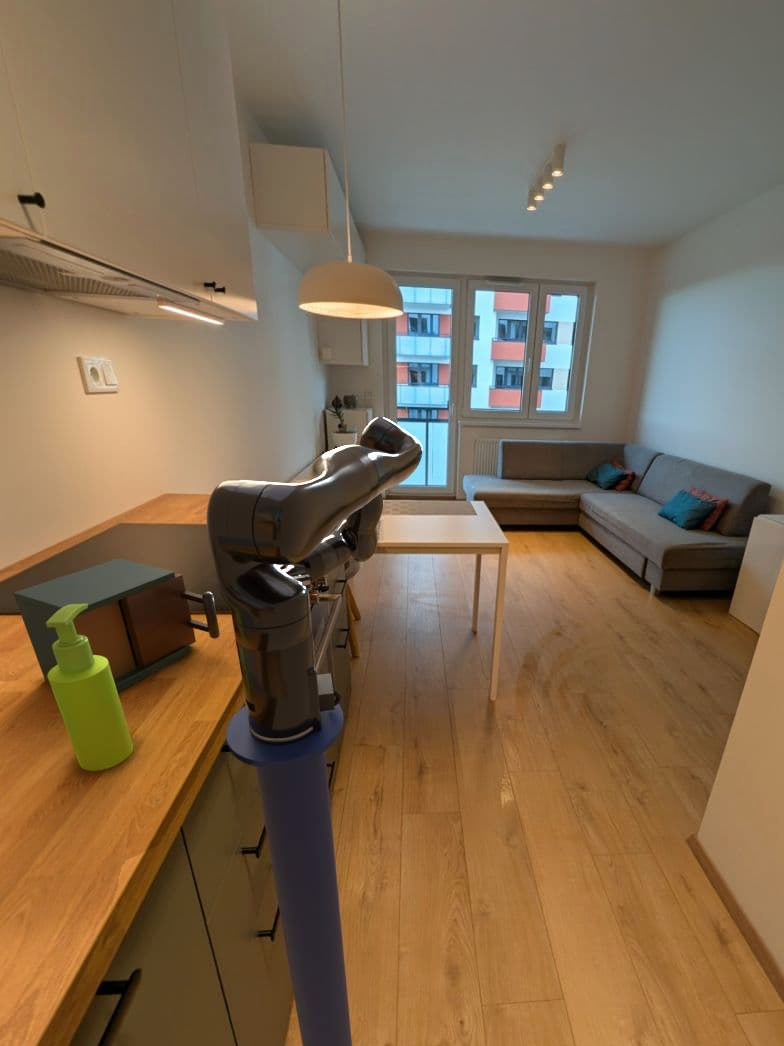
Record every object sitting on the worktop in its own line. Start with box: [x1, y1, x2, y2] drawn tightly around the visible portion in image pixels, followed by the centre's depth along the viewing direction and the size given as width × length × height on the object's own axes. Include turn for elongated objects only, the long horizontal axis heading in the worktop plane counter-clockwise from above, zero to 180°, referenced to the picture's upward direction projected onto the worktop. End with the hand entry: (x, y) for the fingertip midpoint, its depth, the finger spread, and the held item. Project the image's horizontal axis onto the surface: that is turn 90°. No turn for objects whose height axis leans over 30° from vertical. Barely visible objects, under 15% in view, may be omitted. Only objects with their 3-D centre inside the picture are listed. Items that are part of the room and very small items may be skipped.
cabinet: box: [13, 558, 192, 694], centre depth 80 cm, size 13×16×15 cm
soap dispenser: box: [46, 604, 134, 772], centre depth 61 cm, size 6×7×20 cm
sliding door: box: [120, 572, 221, 669], centre depth 82 cm, size 8×10×13 cm
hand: (251, 592), depth 92 cm, fingers closed
